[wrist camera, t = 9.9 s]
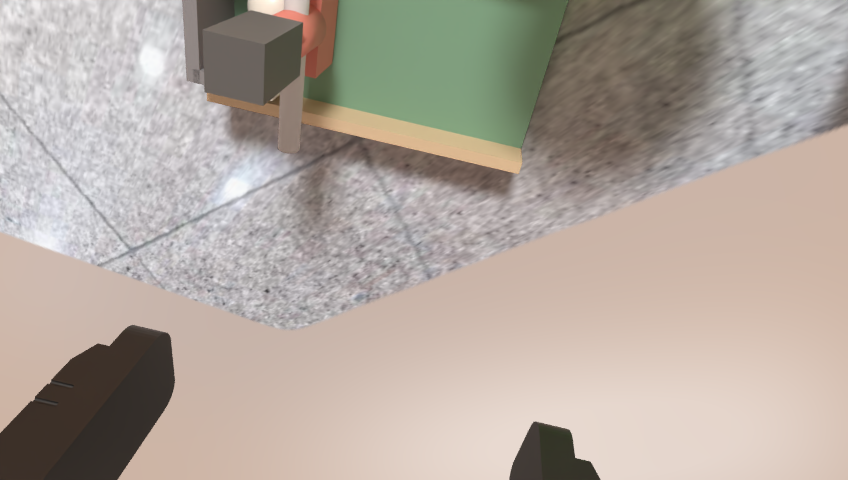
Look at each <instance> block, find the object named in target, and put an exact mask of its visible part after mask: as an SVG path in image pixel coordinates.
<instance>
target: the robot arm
mask: <svg viewBox="0 0 848 480" xmlns="http://www.w3.org/2000/svg"><path fill="white" fill-rule="evenodd" d="M174 383H175V377H174V367H173V357H172V347H171V338H170V335H169V334H168V333H165V332H160V331H157V330H152V329H148V328H144V327H139V326H135V325H131V326H129V327H127V328H126V329H125V330H124V331H123V332H122V333H121V334H120V335H119V336H118V337H117V338H116V339H115V341H114V342H113V343H112V344H111V345H110V346H106V345H101V344H96V345H95V346H93V347H91V348H89V349H88V350H86V351H84V352H83V353H81V354H79V355H77V356H76V357H74V358H72V359H71V360H70V361H69V362H68V363H67V364H66V365H65V366H64V367H63V368H62V369H61V370H60V371H59V372H58V373H57V374H56V376H55V377H54V378H53V379H52V381H51V383H50V384H47V385H46V386H45V387H44V388H43V389H42V390H41V391H40V392H39V394H37V395H36V396H35V400H34V401H33V402H32V401H31V402H30V403H29V404H28V405H27V406H26V407H25V408H24V409H23V410H22V411H21V412H20V413H19V414H18V415H17V416H16V417H15V418H14V419H13V420H12V421H11V423H10V424H9V425H8V426H7V427H6V428H5V429H4V430H3V431H2V432H1V433H0V480H117V479H118V478H119V476H120V475H121V473H122V472H123V470H124V469H125V468H126V466H127V465H128V463H129V462H130V460H131V459H132V457H133V456H134V454H135V453H136V451H137V450H138V448H139V447H140V445H141V444H142V442H143V441H144V439H145V438H146V436H147V435H148V433H149V432H150V431H151V429H152V428H153V426H154V425H155V423H156V422H157V420H158V418H159V417H160V416H161V414H162V413H163V411H164V409H165V408H166V406H167V405H168V402H169V400H170V398H171V396H172V393H173V389H174ZM510 480H600V478H599V476H598V475H597V473H596V471H595V469H594V467H593V465H592V464H591V462H589V461H585V460H581V459H577V458H575V454H574V446H573V439H572V434H571V432H570V430H568V429H565V428H561V427H556V426H552V425H548V424H544V423H539V422H533V424H532V425H531V427H530V429H529V431H528V433H527V435H526V437H525V439H524V441H523V443H522V446H521V448H520V450H519V452H518V454H517V456H516V458H515V460H514V462H513V465H512V469H511V473H510Z"/></svg>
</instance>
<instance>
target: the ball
mask: <svg viewBox="0 0 848 480" xmlns="http://www.w3.org/2000/svg"><path fill="white" fill-rule="evenodd" d="M247 8H248V11H250V10H253V11H257V12H261V13H265V14H270V15H274V14H276V13H278V12H280V11H282V10H284V0H248V3H247Z"/></svg>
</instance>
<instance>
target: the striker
mask: <svg viewBox="0 0 848 480" xmlns="http://www.w3.org/2000/svg"><path fill="white" fill-rule="evenodd" d="M337 8H338V0H284V10H282V11H280V12H278V13H276V14H274V15H270V14H265V13H261V12H257V11H253V10H250V11H248V12H245V13H243V14H240V15H238V16H235V17H233V18H230V19H228V20H225V21H223V22H220V23H218V24H216V25H213V26H211V27H208V28H206V29H203V30H202V32H203V59H204V86H205V92H206V93H211V94H215V95H219V96H223V97H228V98H232V99H236V100H240V101H245V102H249V103H253V104H257V105H262V106H264V105H265V104H266V103H267V102H269V101H270V100H271V99H272V98H273V97H275V96H276V95H277V94H278V93H279V92H280V106H279V129H278V149H279V150H280V151H281V152H284V153H297V152H298V151H299V150H300V136H301V121H302V106H303V92H304V77H305V76H307V77H312V78H317V77H318V76H319V75H320V74H321V73H322V72H323V71H324V70H325V69H326V68H328V67H329V66H330V65H331V64H332V60H333V50H334V40H335V29H336V19H337Z"/></svg>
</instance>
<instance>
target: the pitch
mask: <svg viewBox="0 0 848 480" xmlns="http://www.w3.org/2000/svg"><path fill="white" fill-rule="evenodd" d="M568 1H569V0H338V8H337V19H336V29H335V40H334V50H333V60H332V64H331V65H330V66H329V67H328V68H326V69H325V70H324V71H323V72H322V73H321V74H320V75H319V76H318V77H317V78H312V77H307V76H305V77H304V92H303V106H302V121H301V123H304V124H308V125H312V126H316V127H321V128H325V129H329V130H333V131H338V132H342V133H346V134H350V135H355V136H359V137H363V138H367V139H372V140H376V141H380V142H384V143H389V144H393V145H397V146H401V147H406V148H410V149H414V150H418V151H423V152H427V153H431V154H435V155H440V156H444V157H448V158H452V159H457V160H461V161H465V162H469V163H474V164H478V165H482V166H486V167H491V168H495V169H499V170H503V171H508V172H512V173H516V174H519V171H520V168H521V165H522V154H521V147H522V144H523V141H524V138H525V135H526V132H527V129H528V126H529V122H530V119H531V116H532V113H533V110H534V107H535V104H536V101H537V97H538V94H539V91H540V88H541V85H542V82H543V79H544V76H545V72H546V69H547V66H548V63H549V60H550V57H551V54H552V51H553V47H554V44H555V41H556V38H557V35H558V32H559V29H560V26H561V22H562V19H563V16H564V13H565V10H566V7H567V4H568ZM182 3H183V21H184V39H185V57H186V74H187V81H190V82H194V83H198V84H202V85H204V59H203V32H202V30H203V29H206V28H208V27H211V26H213V25H216V24H218V23H220V22H223V21H225V20H228V19H230V18H233V17H235V16H238V15H240V14H243V13H245V12H248V8H247V3H248V0H182ZM207 101H210V102H214V103H219V104H223V105H227V106H231V107H236V108H240V109H244V110H248V111H253V112H257V113H261V114H265V115H270V116H274V117H278V118H279V106H280V92H279V93H278V94H277V95H276V96H275V97H273V98H272V99H271V100H270V101H269V102H267V103H266V104H265V105H264V106H262V105H257V104H253V103H249V102H245V101H240V100H236V99H232V98H228V97H223V96H219V95H215V94H211V93H207Z"/></svg>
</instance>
